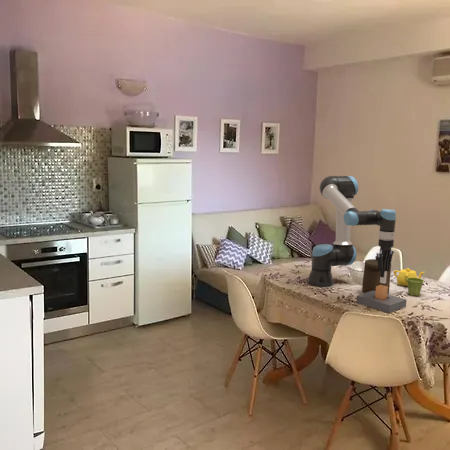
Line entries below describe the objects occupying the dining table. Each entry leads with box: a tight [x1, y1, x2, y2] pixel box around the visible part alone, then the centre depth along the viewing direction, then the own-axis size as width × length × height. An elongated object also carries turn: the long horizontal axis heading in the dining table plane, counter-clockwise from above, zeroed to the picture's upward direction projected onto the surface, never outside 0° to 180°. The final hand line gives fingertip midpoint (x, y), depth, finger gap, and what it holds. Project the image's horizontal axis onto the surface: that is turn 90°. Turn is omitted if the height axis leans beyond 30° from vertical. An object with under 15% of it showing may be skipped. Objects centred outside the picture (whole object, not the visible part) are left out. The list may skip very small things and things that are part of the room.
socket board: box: [355, 290, 408, 314], centre depth 275 cm, size 20×16×4 cm
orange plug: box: [375, 285, 388, 300], centre depth 275 cm, size 4×4×9 cm
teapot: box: [393, 268, 425, 287], centre depth 313 cm, size 14×13×10 cm
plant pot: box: [407, 278, 425, 297], centre depth 295 cm, size 9×9×9 cm
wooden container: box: [361, 255, 392, 295], centre depth 295 cm, size 15×15×22 cm
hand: (382, 282), depth 273 cm, fingers closed
